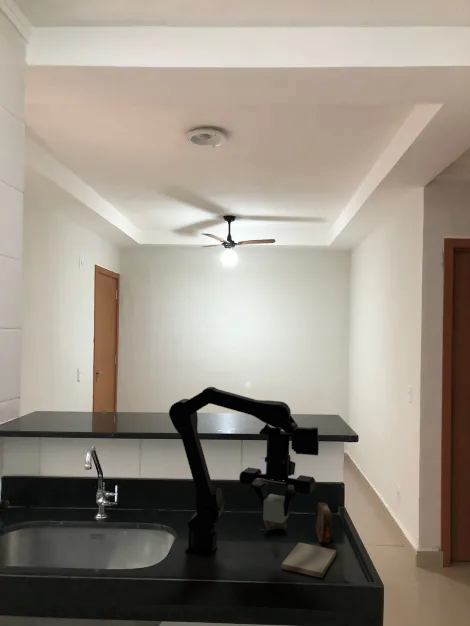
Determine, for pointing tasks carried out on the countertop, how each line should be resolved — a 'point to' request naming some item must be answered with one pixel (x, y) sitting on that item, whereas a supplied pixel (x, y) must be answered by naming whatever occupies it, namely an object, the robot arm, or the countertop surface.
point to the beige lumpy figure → (274, 525)
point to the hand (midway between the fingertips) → (276, 514)
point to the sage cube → (274, 508)
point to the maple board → (309, 559)
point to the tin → (323, 522)
